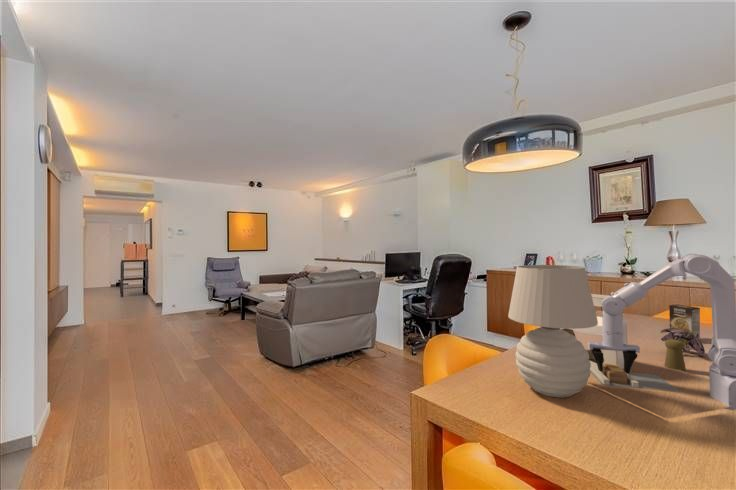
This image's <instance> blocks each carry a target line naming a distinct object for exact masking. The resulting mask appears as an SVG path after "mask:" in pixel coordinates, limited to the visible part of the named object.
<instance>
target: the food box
mask: <svg viewBox="0 0 736 490" xmlns="http://www.w3.org/2000/svg"><path fill="white" fill-rule="evenodd" d="M668 309H669V310H668V311H669V328H676V329H681V330H684V331H690V332H692V333H693V335H694V336H695V337H697V338H698V339H699V340H700V341H701V319H700V318H701V314H700V313H701V308H700V307H697V306H690V305H684V304H670V305H669V307H668ZM669 333H672V332H669Z"/></svg>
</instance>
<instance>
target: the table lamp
mask: <svg viewBox="0 0 736 490" xmlns="http://www.w3.org/2000/svg"><path fill="white" fill-rule="evenodd" d="M586 271H587V270H586V267H584V266H580V265H563V264H561V265H560V264H527V265H517V266H516V271H515V277H514V282H513V287H512V292H511V298H510V303H509V309H508V315H507V316H508V319H510V320H511V321H514V322H516V323H519V324H524V325H529V326H535V328H534V329H531V330H529V331H528V332H526V334H524V335H523V336H521V338H520V341H519V342H518V343H517V344H516V351H515V365H516V367H517V369H518V374H519V375H520V376H521V378H523V381H524V382H525V384H527V385H528V386H529V387H531V388H532V389H533V391H535V392H537V393H539V394H541V395H544V396H547V397H550V398H560V399H562V398H569V397H571V396H573V395H575V394H578V393H579V392H581V391H582V389H583V388H584V387H585V386H587V384H588V381H589V378H590V376H591V372H590V371H591V370H590V367H591V363H590V361H591V360H590V359H589V353H588V352H587V350H588V349H586V348H585V346H584V344H583V343H582V342H581V341H580V340H578V338H577V336H576V335H575V336H573V335H572V334H569V333H568V332H566V331H564V330H561V329H560V328H563V329H579V328H590V327H594V326H596V325H597V324H598V321H597V316H598V315H597V312H596V309H595V306H594V304H593V300H592V295H591V294H592V292H591V286H590V283H589V280H588V274H587V272H586ZM589 360H590V361H589Z"/></svg>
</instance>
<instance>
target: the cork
mask: <svg viewBox="0 0 736 490" xmlns="http://www.w3.org/2000/svg"><path fill="white" fill-rule="evenodd" d="M664 345H665V347H666V352H665V353H666V354H665V359H664V360H665V361H664V367H665V368H668V369H672V370H676V371H681V372H685V373H686V372H687V368H686V363H685V359H684V351H683V349H684V344H683V342H681V341H679V340H674V339H668V340H666V341H664Z"/></svg>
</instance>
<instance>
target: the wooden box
mask: <svg viewBox="0 0 736 490" xmlns="http://www.w3.org/2000/svg"><path fill="white" fill-rule="evenodd" d="M603 363H604V362H603ZM623 370H624V369H623ZM623 370H622V369H621V368H620V367H619V366H617V365H616V364H610V363H604V364H603V372H602V373H603V374H604V375H605V376H606V377H607V378H608V379H609V381H610V383H621V384H628V382H627V373H626V372H625V371H623Z"/></svg>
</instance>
